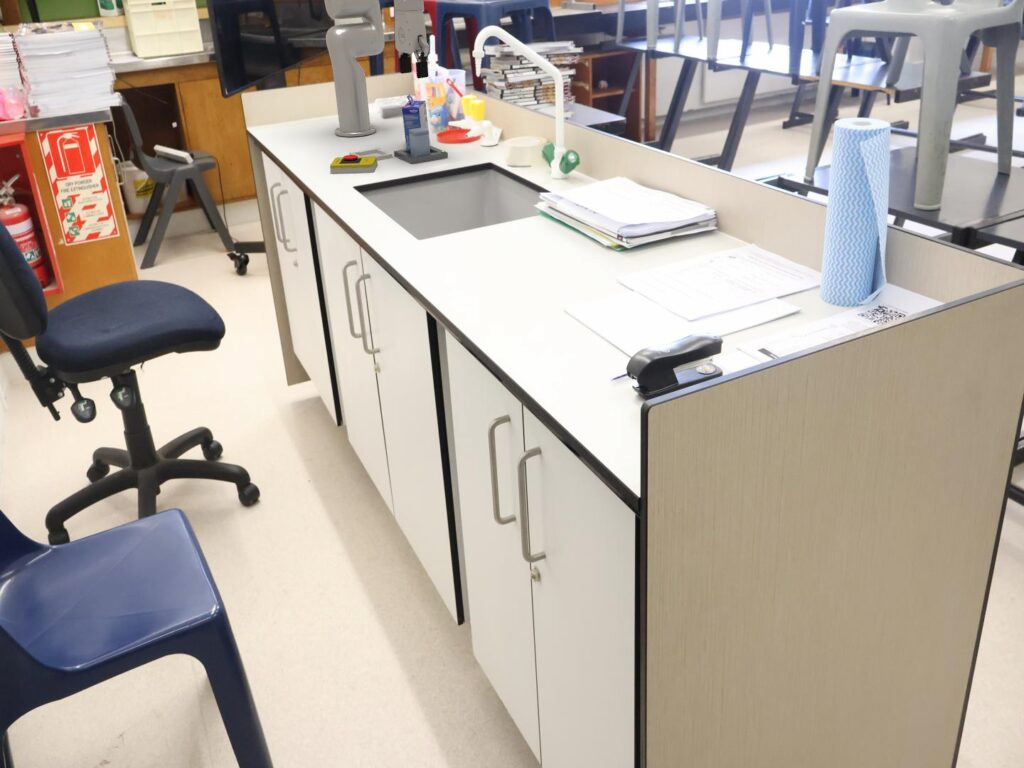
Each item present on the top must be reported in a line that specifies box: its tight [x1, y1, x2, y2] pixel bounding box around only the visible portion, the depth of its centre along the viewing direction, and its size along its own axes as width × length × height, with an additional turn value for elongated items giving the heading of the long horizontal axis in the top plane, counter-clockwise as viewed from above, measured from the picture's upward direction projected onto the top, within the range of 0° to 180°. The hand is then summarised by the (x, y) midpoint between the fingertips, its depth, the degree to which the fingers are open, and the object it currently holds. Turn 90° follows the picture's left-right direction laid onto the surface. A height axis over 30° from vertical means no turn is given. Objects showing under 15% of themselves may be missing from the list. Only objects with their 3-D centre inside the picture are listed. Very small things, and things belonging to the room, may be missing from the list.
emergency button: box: [329, 154, 379, 175], centre depth 241 cm, size 9×4×15 cm
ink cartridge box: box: [401, 93, 431, 149], centre depth 261 cm, size 10×6×14 cm, turn 174°
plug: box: [409, 128, 431, 156], centre depth 249 cm, size 4×4×8 cm
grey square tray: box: [348, 147, 394, 161], centre depth 252 cm, size 9×9×2 cm
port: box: [393, 145, 449, 165], centre depth 250 cm, size 11×11×2 cm
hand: (414, 75), depth 241 cm, fingers open, 9 cm apart
